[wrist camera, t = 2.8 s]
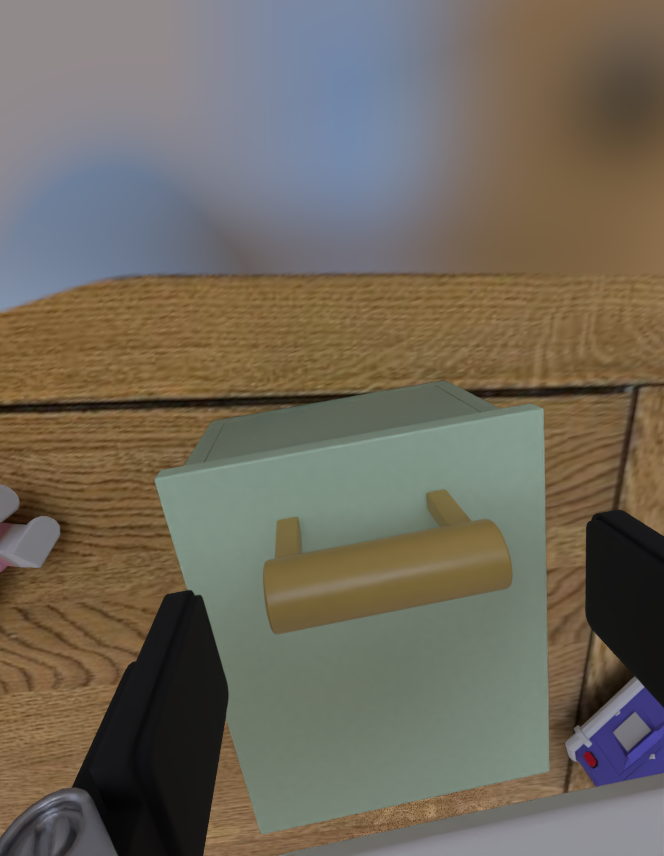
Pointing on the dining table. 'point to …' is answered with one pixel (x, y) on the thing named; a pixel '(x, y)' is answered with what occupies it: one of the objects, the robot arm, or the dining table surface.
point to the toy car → (621, 738)
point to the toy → (24, 535)
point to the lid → (375, 610)
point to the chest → (334, 420)
